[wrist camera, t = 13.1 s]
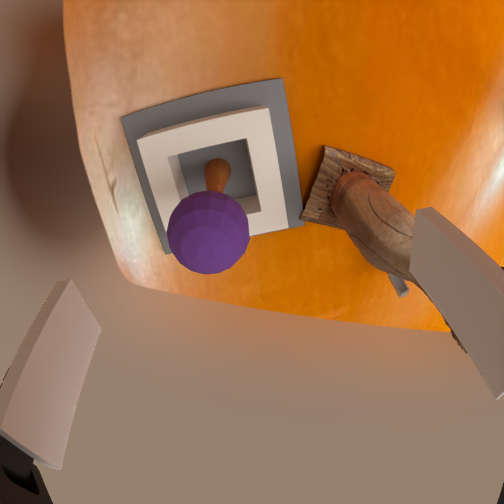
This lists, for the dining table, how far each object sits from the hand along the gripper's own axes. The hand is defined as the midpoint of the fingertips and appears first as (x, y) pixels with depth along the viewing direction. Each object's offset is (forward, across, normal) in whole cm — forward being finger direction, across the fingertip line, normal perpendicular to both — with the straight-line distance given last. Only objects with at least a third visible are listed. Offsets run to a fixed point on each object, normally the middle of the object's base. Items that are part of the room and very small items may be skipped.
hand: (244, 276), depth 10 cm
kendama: (+28, -2, -4) cm, 29 cm away
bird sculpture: (+30, +14, -10) cm, 34 cm away
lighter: (+29, +20, -22) cm, 42 cm away
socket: (+29, -3, -4) cm, 29 cm away
